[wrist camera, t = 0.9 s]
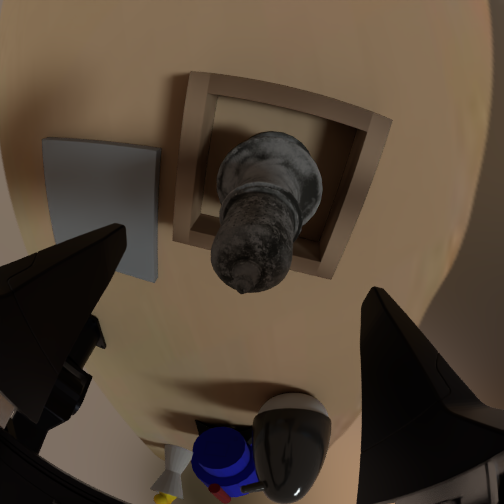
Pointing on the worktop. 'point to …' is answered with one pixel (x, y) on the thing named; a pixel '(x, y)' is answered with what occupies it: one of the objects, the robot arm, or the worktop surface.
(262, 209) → the salt shaker
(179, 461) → the lava lamp
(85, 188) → the slate coaster
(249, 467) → the alarm clock
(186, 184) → the walnut holder
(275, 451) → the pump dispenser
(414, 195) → the worktop surface
